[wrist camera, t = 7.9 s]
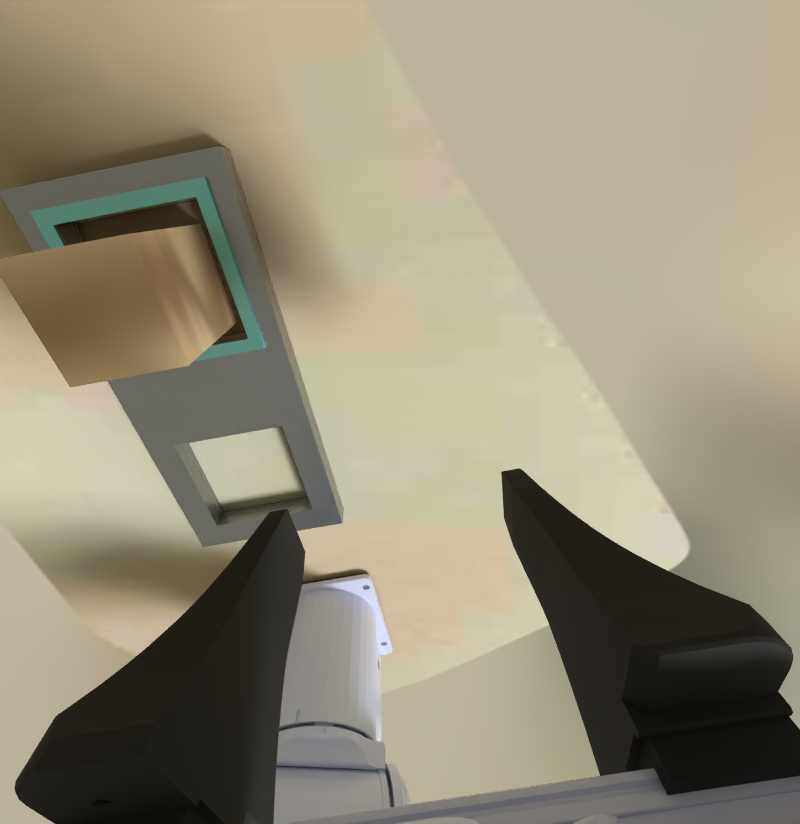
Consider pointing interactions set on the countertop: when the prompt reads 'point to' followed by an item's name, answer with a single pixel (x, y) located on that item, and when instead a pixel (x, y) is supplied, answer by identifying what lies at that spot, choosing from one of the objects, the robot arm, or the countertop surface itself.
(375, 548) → the countertop surface
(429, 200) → the countertop surface
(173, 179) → the grey peg insertion board
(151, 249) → the oak block
